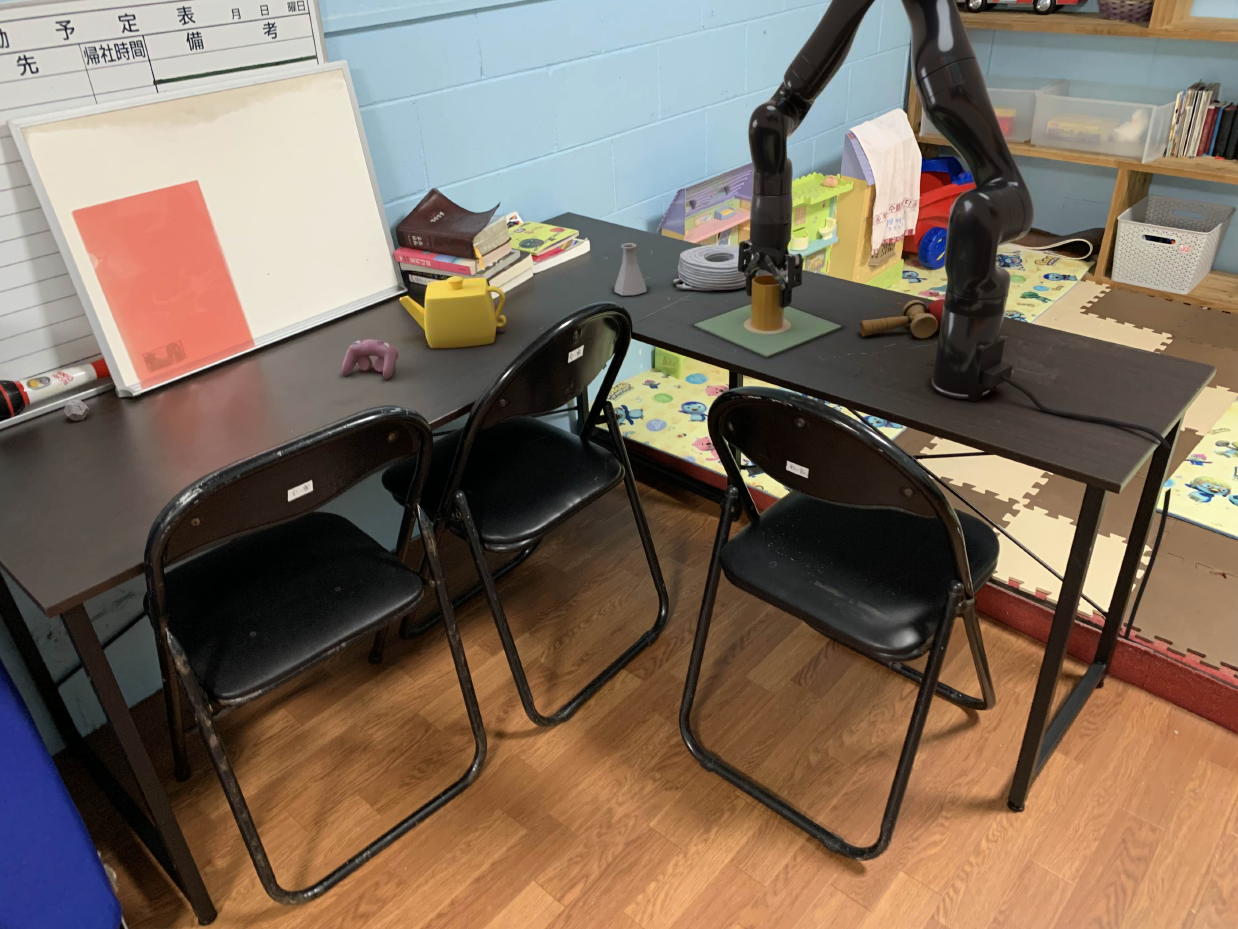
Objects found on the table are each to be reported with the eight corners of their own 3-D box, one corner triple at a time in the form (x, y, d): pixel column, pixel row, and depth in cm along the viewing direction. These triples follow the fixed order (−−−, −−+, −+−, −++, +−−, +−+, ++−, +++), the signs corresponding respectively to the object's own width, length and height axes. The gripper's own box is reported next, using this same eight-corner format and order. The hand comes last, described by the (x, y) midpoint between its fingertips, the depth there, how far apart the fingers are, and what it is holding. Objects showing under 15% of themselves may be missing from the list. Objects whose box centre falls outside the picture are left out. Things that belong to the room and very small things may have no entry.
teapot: (404, 353, 176) (393, 294, 170) (409, 327, 186) (399, 271, 180) (509, 344, 177) (502, 285, 171) (508, 319, 188) (502, 263, 182)
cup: (789, 324, 178) (792, 280, 174) (766, 333, 175) (768, 288, 171) (766, 315, 183) (768, 271, 178) (743, 324, 179) (745, 279, 175)
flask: (609, 287, 201) (607, 242, 196) (641, 282, 203) (639, 238, 198) (619, 298, 195) (617, 252, 190) (651, 293, 197) (650, 247, 192)
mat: (841, 327, 177) (841, 325, 177) (767, 357, 167) (767, 355, 167) (766, 300, 191) (766, 297, 191) (694, 326, 181) (694, 323, 181)
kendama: (870, 352, 170) (966, 332, 170) (867, 318, 168) (964, 298, 168) (857, 342, 177) (950, 323, 177) (854, 310, 175) (948, 290, 175)
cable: (669, 290, 198) (668, 263, 195) (687, 263, 212) (687, 238, 209) (750, 296, 193) (751, 268, 190) (763, 268, 207) (764, 242, 204)
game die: (85, 410, 161) (79, 395, 159) (94, 416, 158) (88, 401, 157) (64, 418, 158) (57, 403, 157) (73, 424, 156) (67, 409, 155)
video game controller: (400, 380, 169) (402, 341, 168) (387, 379, 165) (390, 340, 164) (352, 376, 172) (354, 338, 171) (338, 375, 167) (340, 336, 167)
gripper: (728, 213, 171) (727, 296, 179) (785, 228, 161) (781, 316, 169) (757, 204, 175) (755, 287, 183) (814, 219, 165) (809, 305, 173)
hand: (768, 300), depth 176 cm, fingers open, 8 cm apart
